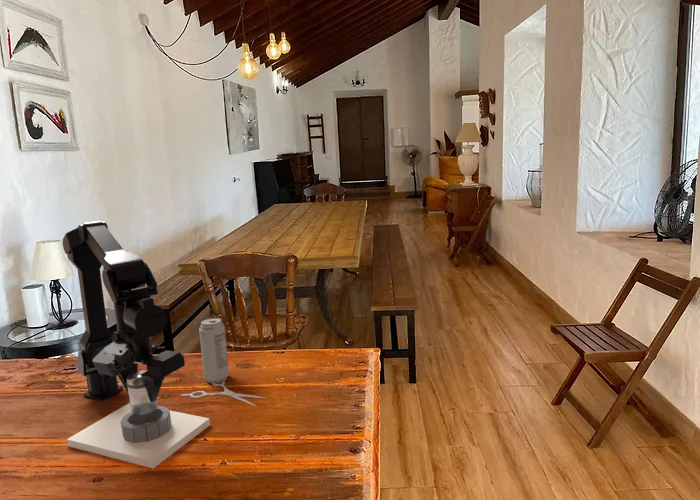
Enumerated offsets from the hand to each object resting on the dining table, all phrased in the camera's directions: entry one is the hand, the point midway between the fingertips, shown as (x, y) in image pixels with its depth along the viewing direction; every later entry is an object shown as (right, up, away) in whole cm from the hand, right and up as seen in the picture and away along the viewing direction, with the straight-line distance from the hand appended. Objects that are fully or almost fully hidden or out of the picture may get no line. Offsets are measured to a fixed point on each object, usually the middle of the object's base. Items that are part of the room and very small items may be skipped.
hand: (143, 399), depth 106 cm
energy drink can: (+8, -3, +27) cm, 28 cm away
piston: (0, -2, 0) cm, 2 cm away
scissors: (+13, -5, +19) cm, 23 cm away
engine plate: (-1, -8, +2) cm, 8 cm away
